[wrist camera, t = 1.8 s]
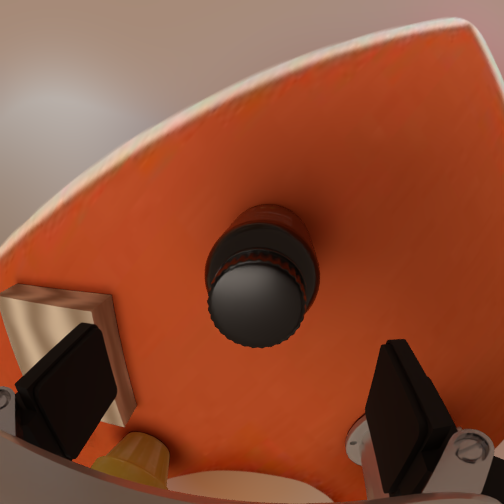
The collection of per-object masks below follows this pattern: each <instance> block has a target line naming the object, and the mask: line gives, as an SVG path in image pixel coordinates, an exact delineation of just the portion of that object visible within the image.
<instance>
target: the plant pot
mask: <svg viewBox="0 0 504 504" xmlns="http://www.w3.org/2000/svg"><path fill="white" fill-rule="evenodd" d="M169 458H170V453H169V451H168V449H167V447H166V446H165V445H164V444H163V443H162V442H161V441H159V440H158V439H156V438H155V437H153V436H150V435H148V434H145V433H141V432H131V433H129V434H127V435H126V436H125V437H124V438H123V439H122V440H121V441H120V442H119V443H118V444H117V445H116V446H115V447H114V448H113V449H112V450H111V451H110V452H109V453H108V454H107V455H106V456H102V457H99V458H98V459H96V461H95V462H94V463H93V465H92V466H91V469H94V470H97V471H100V472H103V473H106V474H109V475H112V476H116V477H119V478H122V479H126V480H129V481H133V482H136V483H140V484H144V485H148V486H152V487H157V488H161V489H165V490H168V488H167V487H166V486H167V476H168V467H169Z"/></svg>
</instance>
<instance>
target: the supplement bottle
mask: <svg viewBox="0 0 504 504" xmlns="http://www.w3.org/2000/svg"><path fill="white" fill-rule="evenodd" d="M319 284H320V271H319V264H318V260H317V257H316V254H315V251H314V248H313V245H312V241H311V238H310V236H309V233H308V230H307V228H306V226H305V225H304V223H303V222H302V220H301V219H300V218H299V217H298V216H297V215H296V214H294V213H293V212H292V211H290V210H288V209H286V208H284V207H281V206H277V205H268V204H267V205H259V206H255V207H253V208H250V209H248V210H246V211H245V212H243V213H242V214H241V215H240V216H239V217H238V218H237V219H236V220H235V221H234V222H233V223H232V224H231V225H230V226H229V228H228V229H227V230H226V231H225V232H224V233H223V234H222V236H221V237H220V238H219V239H218V240H217V242H216V243H215V244H214V246H213V248H212V249H211V251H210V253H209V256H208V258H207V261H206V266H205V285H206V289H207V292H208V296H209V297H208V300H207V303H208V305H209V307H208V311H209V313H210V314H211V319H212V321H213V322H214V325H215V327H216V328H218V329H219V331H220V333H221V334H223V335H225V336H226V338H227V339H229V340H232V341H233V342H234V343H237V344H241V345H242V346H249V347H251V348H256V347H259V348H264V347H272V346H274V345H276V344H280V343H281V342H282V341H285V340H288V338H289V337H290V336H291V335H293V334H294V333H295V331H296V330H297V329H298V328H299V327H300V323H301V322H302V321H303V319H304V314H305V313H306V312H307V311H308V310H309V309H310V307H311V306H312V304H313V302H314V300H315V298H316V296H317V293H318V290H319Z"/></svg>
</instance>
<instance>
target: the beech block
mask: <svg viewBox="0 0 504 504" xmlns="http://www.w3.org/2000/svg"><path fill="white" fill-rule="evenodd" d="M0 311H1V315H2V318H3V321H4V325H5V328H6V331H7V334H8V337H9V340H10V343H11V346H12V349H13V351H14V354H15V357H16V359H17V362H18V365H19V367H20V370H21V372H22V375H23V376H24V375H25V374H26V373H27V372H28V371H29V370H30V369H31V368H32V367H33V366H34V365H35V364H36V363H37V362H38V361H39V360H40V359H41V358H42V357H44V356H45V355H46V354H47V353H48V352H49V351H50V350H51V349H52V348H53V347H54V346H55V345H56V344H58V343H59V342H60V341H61V340H62V339H63V338H64V337H65V336H66V335H67V334H69V333H70V332H71V331H72V330H73V329H74V328H75V327H76V326H77V325H79V324H80V323H81V322H84V323H90V324H96V325H97V326H98V328H99V329H100V330H101V331H102V333H103V337H104V342H105V346H106V350H107V353H108V357H109V361H110V365H111V368H112V372H113V375H114V379H115V382H116V385H117V396H116V398H115V399H114V401H113V402H112V404H111V405H110V407H109V408H108V410H107V411H106V413H105V415H104V416H103V418H102V419H101V421H103V422H106V423H110V424H113V425H117V426H121V427H125V426H126V424H127V422H128V420H129V419H130V417H131V415H132V413H133V412H134V410H135V408H136V407H137V405H136V401H135V398H134V394H133V391H132V387H131V383H130V380H129V376H128V372H127V368H126V364H125V359H124V355H123V351H122V346H121V342H120V337H119V332H118V327H117V322H116V317H115V312H114V306H113V300H112V295H108V294H98V293H89V292H80V291H71V290H62V289H54V288H46V287H38V286H31V285H24V284H15V285H14V286H12V287H10V288H8V289H6V290H5V291H3V292H1V293H0Z"/></svg>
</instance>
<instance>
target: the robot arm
mask: <svg viewBox="0 0 504 504" xmlns="http://www.w3.org/2000/svg"><path fill="white" fill-rule="evenodd" d="M15 386H16V389H17V391H18V392H17V393H16V394H15V393H14V392H13V390H12V389H10V388H8V387H4V386H2V387H0V504H283V503H259V502H245V501H235V500H226V499H218V498H210V497H204V496H197V495H191V494H185V493H180V492H174V491H170V490H165V489H161V488H157V487H152V486H148V485H144V484H140V483H136V482H133V481H129V480H126V479H122V478H119V477H116V476H112V475H109V474H106V473H103V472H100V471H97V470H94V469H91V468H88V467H85V466H83V465H80V464H77V463H75V462H72V459H76V458H77V457H78V455H79V454H80V452H81V450H82V449H83V447H84V446H85V444H86V442H87V441H88V439H89V438H90V436H91V435H92V433H93V432H94V430H95V428H96V427H97V425H98V424H99V422H100V421H101V419H102V418H103V416H104V415H105V413H106V411H107V410H108V408H109V407H110V405H111V404H112V402H113V401H114V399H115V398H116V396H117V385H116V382H115V379H114V375H113V372H112V368H111V365H110V361H109V357H108V353H107V350H106V346H105V342H104V337H103V333H102V331H101V330H100V329H99V328H98V326H97V325H96V324H90V323H84V322H81V323H80V324H79V325H77V326H76V327H75V328H74V329H73V330H72V331H71V332H70V333H69V334H67V335H66V336H65V337H64V338H63V339H62V340H61V341H60V342H59V343H58V344H56V345H55V346H54V347H53V348H52V349H51V350H50V351H49V352H48V353H47V354H46V355H45V356H44V357H42V358H41V359H40V360H39V361H38V362H37V363H36V364H35V365H34V366H33V367H32V368H31V369H30V370H29V371H28V372H27V373H26V374H25V375H24V376H23V377H22V378H21V379H19V380H18V381H17V382H16V383H15ZM345 447H346V453H347V455H348V457H349V458H350V459H351V460H352V461H353V462H354V463H356V464H358V465H361V466H362V468H363V474H364V480H365V486H366V492H367V498H368V500H362V501H351V502H335V503H309V504H504V460H503V459H500V458H498V457H495V456H494V445H493V442H492V441H491V439H490V438H489V437H488V436H487V435H486V434H485V433H483V432H481V431H478V430H474V429H463V430H462V428H461V427H456V426H455V424H454V422H453V420H452V418H451V416H450V414H449V412H448V410H447V409H446V407H445V405H444V403H443V401H442V399H441V397H440V396H439V394H438V392H437V390H436V388H435V386H434V385H433V383H432V381H431V379H430V378H429V377H427V376H426V374H425V372H424V371H423V369H422V367H421V365H420V364H419V362H418V360H417V358H416V357H415V355H414V353H413V351H412V350H411V348H410V346H409V345H408V343H407V341H406V340H405V339H397V340H388V341H387V342H386V344H384V345H381V348H380V352H379V356H378V360H377V365H376V369H375V373H374V377H373V381H372V385H371V388H370V392H369V396H368V399H367V403H366V407H365V415H364V416H363V417H362V418H360V419H359V420H358V421H357V422H356V423H355V424H354V425H353V426H352V428H351V429H350V431H349V433H348V435H347V437H346V442H345ZM284 504H286V503H284Z"/></svg>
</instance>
